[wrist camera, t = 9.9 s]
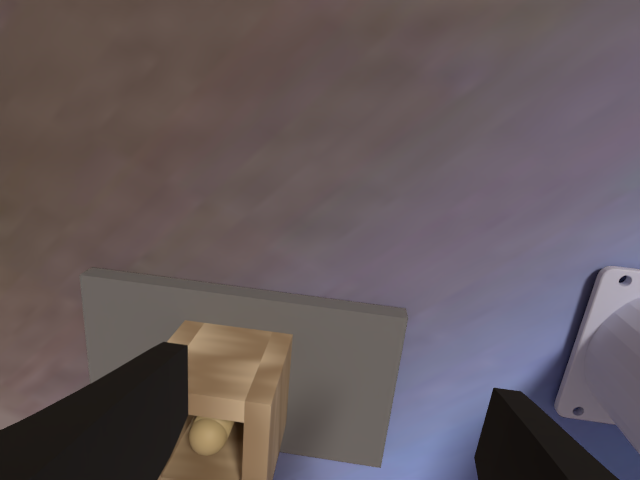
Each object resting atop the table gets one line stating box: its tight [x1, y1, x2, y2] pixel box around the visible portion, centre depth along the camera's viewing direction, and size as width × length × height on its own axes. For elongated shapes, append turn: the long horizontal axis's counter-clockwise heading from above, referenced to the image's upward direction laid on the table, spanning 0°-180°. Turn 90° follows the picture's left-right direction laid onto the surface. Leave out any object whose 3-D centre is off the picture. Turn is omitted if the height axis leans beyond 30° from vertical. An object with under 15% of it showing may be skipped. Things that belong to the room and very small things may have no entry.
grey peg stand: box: [80, 267, 408, 468], centre depth 19 cm, size 16×9×6 cm, turn 85°
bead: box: [158, 320, 293, 480], centre depth 19 cm, size 5×5×5 cm
